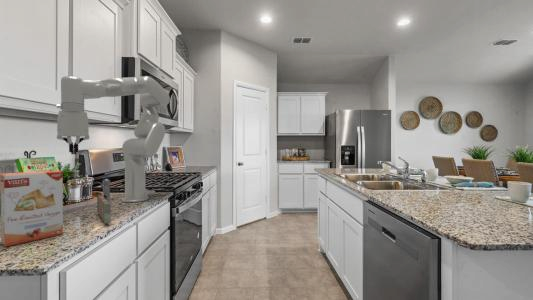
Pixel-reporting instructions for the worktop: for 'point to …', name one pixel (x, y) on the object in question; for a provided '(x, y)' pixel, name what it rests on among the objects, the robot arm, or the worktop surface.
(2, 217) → the cracker box
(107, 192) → the gatepost
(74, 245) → the worktop surface
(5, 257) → the worktop surface
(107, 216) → the gate
